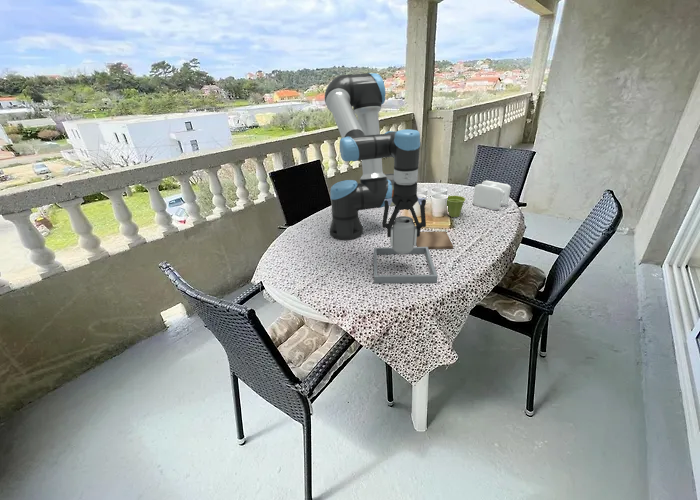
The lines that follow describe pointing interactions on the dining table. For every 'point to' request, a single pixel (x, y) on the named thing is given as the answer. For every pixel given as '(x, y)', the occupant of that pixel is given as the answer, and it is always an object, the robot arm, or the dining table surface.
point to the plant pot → (455, 205)
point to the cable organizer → (491, 194)
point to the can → (403, 234)
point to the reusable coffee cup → (391, 178)
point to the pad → (434, 240)
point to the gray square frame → (405, 278)
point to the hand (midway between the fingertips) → (402, 244)
